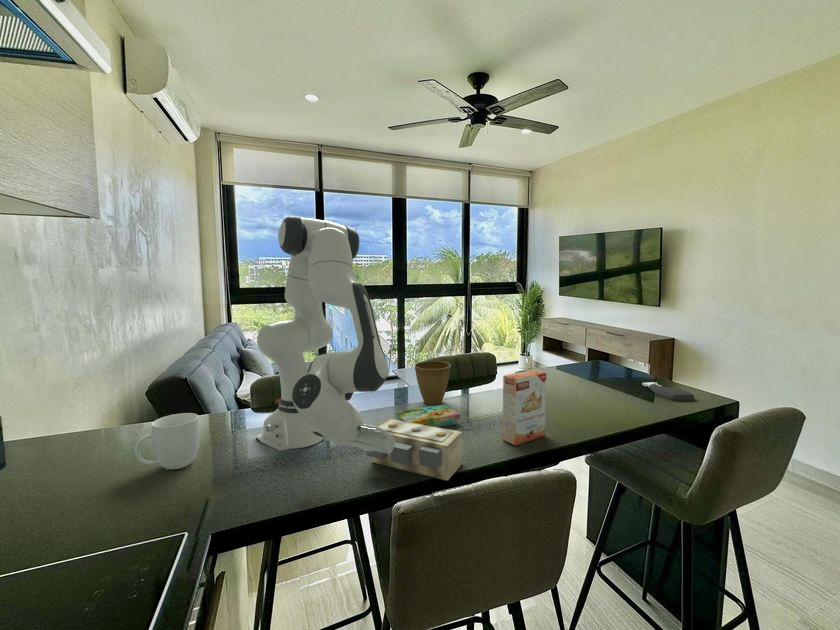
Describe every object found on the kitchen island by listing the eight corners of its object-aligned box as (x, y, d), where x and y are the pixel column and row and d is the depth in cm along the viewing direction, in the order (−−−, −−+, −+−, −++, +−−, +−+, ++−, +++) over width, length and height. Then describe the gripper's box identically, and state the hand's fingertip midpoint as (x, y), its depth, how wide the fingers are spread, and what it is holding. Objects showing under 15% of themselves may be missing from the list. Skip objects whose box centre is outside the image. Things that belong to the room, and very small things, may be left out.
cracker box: (516, 447, 113) (516, 378, 112) (501, 440, 118) (501, 374, 117) (546, 436, 121) (547, 372, 119) (531, 430, 126) (532, 368, 124)
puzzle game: (460, 412, 132) (406, 420, 125) (460, 425, 133) (406, 434, 125) (446, 402, 143) (395, 409, 136) (446, 414, 143) (396, 422, 136)
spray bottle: (670, 402, 154) (636, 386, 178) (697, 401, 154) (659, 386, 178) (671, 395, 154) (636, 380, 178) (697, 394, 154) (659, 380, 178)
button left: (366, 455, 101) (366, 441, 100) (372, 451, 103) (371, 437, 103) (382, 459, 98) (382, 444, 98) (387, 455, 101) (387, 440, 100)
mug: (137, 484, 96) (133, 434, 95) (136, 467, 104) (133, 421, 103) (204, 466, 105) (201, 420, 104) (198, 452, 113) (195, 410, 112)
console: (372, 462, 105) (371, 429, 105) (391, 447, 114) (390, 417, 114) (447, 480, 95) (447, 444, 94) (462, 463, 104) (461, 430, 103)
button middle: (390, 461, 97) (390, 446, 97) (395, 457, 99) (395, 442, 99) (407, 465, 95) (407, 449, 95) (412, 461, 97) (412, 446, 97)
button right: (419, 464, 95) (419, 449, 95) (424, 460, 97) (423, 445, 97) (437, 468, 93) (437, 453, 92) (441, 464, 95) (441, 449, 95)
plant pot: (407, 402, 158) (407, 364, 157) (433, 394, 168) (432, 359, 167) (432, 410, 147) (432, 370, 146) (458, 402, 157) (458, 364, 156)
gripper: (385, 418, 84) (408, 443, 94) (316, 406, 94) (343, 430, 103) (374, 445, 81) (399, 469, 90) (304, 430, 90) (333, 453, 100)
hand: (369, 448), depth 97 cm, fingers closed
